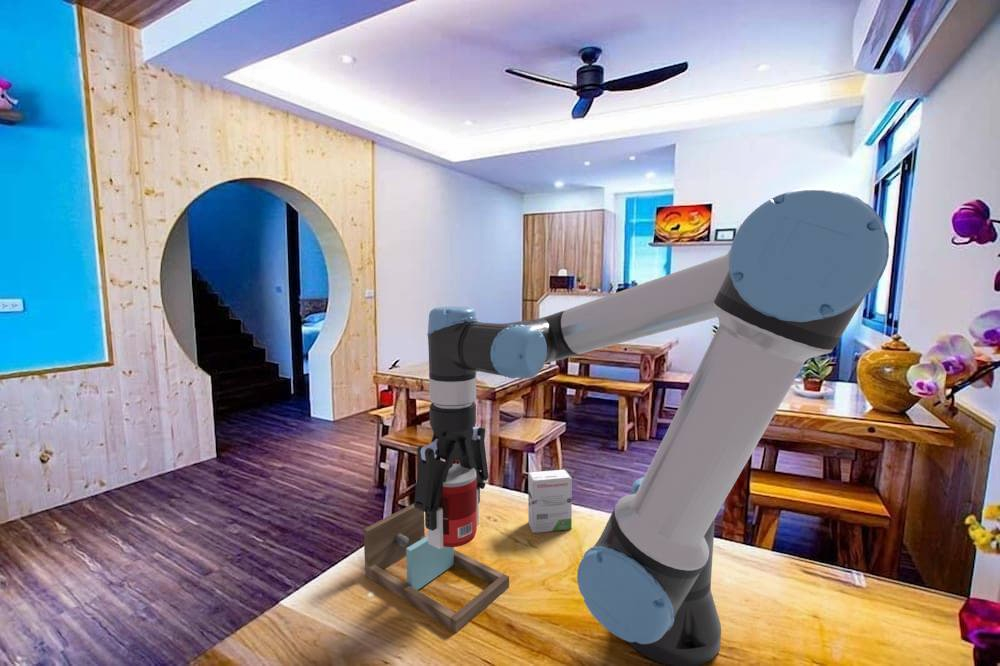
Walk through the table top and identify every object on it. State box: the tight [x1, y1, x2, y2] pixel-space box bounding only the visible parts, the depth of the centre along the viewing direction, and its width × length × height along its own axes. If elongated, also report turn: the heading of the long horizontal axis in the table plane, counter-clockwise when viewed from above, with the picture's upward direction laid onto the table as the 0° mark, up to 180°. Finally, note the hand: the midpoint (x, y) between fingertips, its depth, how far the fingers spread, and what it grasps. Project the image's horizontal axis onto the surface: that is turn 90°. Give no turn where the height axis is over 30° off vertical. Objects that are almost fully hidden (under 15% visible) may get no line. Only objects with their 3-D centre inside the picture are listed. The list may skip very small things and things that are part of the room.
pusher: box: [405, 535, 455, 591], centre depth 85 cm, size 3×10×8 cm, turn 142°
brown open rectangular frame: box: [363, 503, 510, 634], centre depth 84 cm, size 22×13×9 cm, turn 52°
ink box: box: [527, 469, 573, 534], centre depth 102 cm, size 9×5×12 cm, turn 99°
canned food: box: [431, 463, 478, 548], centre depth 79 cm, size 8×8×11 cm
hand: (454, 533), depth 80 cm, fingers closed on canned food, 8 cm apart
